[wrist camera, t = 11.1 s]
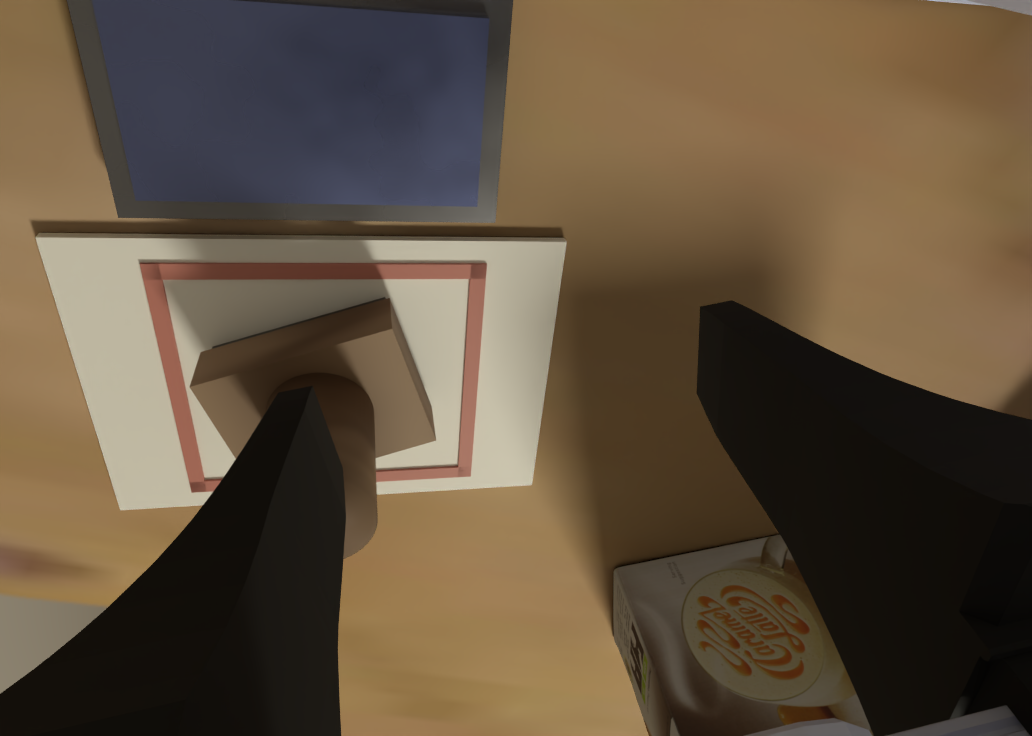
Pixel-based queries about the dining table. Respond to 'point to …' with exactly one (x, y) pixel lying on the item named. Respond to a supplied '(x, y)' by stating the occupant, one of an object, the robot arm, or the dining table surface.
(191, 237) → the sheet
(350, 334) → the stamp
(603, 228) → the dining table surface
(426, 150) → the ink pad
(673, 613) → the coffee box
